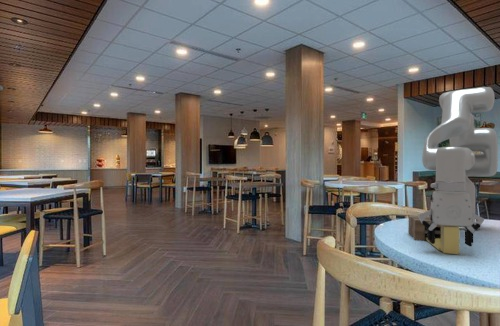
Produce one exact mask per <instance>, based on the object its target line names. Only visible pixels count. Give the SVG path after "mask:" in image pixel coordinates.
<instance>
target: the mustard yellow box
mask: <svg viewBox="0 0 500 326" xmlns="http://www.w3.org/2000/svg"><path fill="white" fill-rule="evenodd" d="M425 240H426V241H427V242H428V243H429V244H431V245H432V246H433V247H434V248H436V249H437V250H438V251H441V252H442V253H443V254H453V255H460V229H459V227H458V226H442V225H441V238H438V237H435V244H432V243H431V242H429V240H428V236H425Z"/></svg>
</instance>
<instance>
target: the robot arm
mask: <svg viewBox="0 0 500 326" xmlns="http://www.w3.org/2000/svg"><path fill="white" fill-rule="evenodd" d="M495 97H496V96H495V92H494V90H493V88H492V87H491V86H480V87H473V88H464V89H457V90H451V91H447V92H443V93H442V94H440V95H439V99H438V103H439V106H440V108H441V110H442V111H441V112H442V113H441V121H440V122H441V123H440V124H439V125H437V126H436V127H434V129H433V130H432V131H430V132H429V134H428V135H427V136H426V138H425V140H424V143H423V149H422V157H421V158H422V159H421V161H422V165H423V167H424V168H425V169H426V170H428V171H435V181H434V182H433V183H430V188H432V189H434V190H435V191H433V192H432V194H431V195H432V201H431V200H430V209H428V210H426V211H424V212H422V213H419V214H417V216H418V217H419V219H420V221H421V223H422V224H423V225H424V226H425V227H426V228H427V229H428V235H427V237H428V240H429V242H431V243H432V244H435V238H436V236H435V231H434V228H435V227H436V226H437V225H442V226H458V227H459V230H463V231H464V230H465V231H464V244H465V245H466V246H468V247H472V245H473V243H474V234H475V233H476V231H478V230H481V226H482V225H483V222H484V221H485V218H484V217H482V216H479V215H478V214H476V186H475V184H474V182H472V180H471V179H469V177H493V176H495V175H496V174H497V172H498V165H499V163H498V159H499V158H498V157H499V156H498V155H499V154H498V153H499V152H498V151H499V150H498V148H499V147H498V146H499V145H498V144H499V143H498V142H499V141H498V135H497V131H496V130H495V129H494V128H491V127H478V128H475V123H474V122H475V119H474V118H475V117H474V115H473V113H478V112H479V113H481V112H489V111H491V110H492V109H493V107H494V104H495ZM448 140H449V146H444V147H443V146H442V147H436V146H438V145H439V144H441V143H443V142H444V141H448ZM474 152H480V153H474ZM425 217H430V220H431V222H430V223H429V224H428V223H427V222H426V220H425ZM429 242H428V243H429ZM431 243H430V244H431ZM432 244H431V245H432Z"/></svg>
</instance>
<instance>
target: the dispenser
mask: <svg viewBox="0 0 500 326" xmlns="http://www.w3.org/2000/svg"><path fill="white" fill-rule="evenodd" d="M425 220H426V222H427V223H428V224H429V223H430V222H431V220H430V216H427V217H425ZM434 231H435V238H441V225H437V226H436V227H435V228H434ZM408 235H409V236H410V237H411V238H413V239H414V240H415V241H425V240H426V236H428V229H427V228H426V227H425V226H424V225H423V224H422V223H421V221H420V219H419V217H418V215H408Z"/></svg>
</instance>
